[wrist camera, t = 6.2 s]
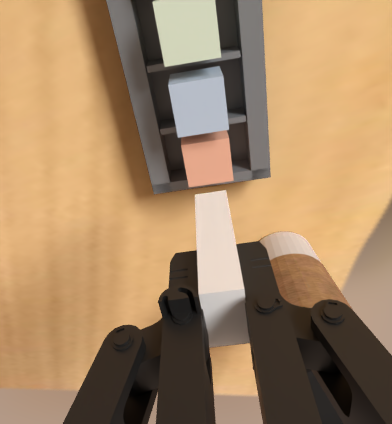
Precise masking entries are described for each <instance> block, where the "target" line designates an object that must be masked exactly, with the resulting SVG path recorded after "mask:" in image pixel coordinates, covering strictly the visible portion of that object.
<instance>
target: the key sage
mask: <svg viewBox="0 0 392 424" xmlns="http://www.w3.org/2000/svg"><path fill="white" fill-rule="evenodd" d="M152 3H153V8H154V13H155V19H156V24H157V29H158V34H159V40H160V45H161V50H162V56H163V61H164V66H165V67H168V66H173V65H179V64H185V63H191V62H197V61H203V60H209V59H215V58H221V50H220V41H219V32H218V22H217V13H216V4H215V0H155V1H153V2H152Z"/></svg>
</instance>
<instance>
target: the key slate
mask: <svg viewBox="0 0 392 424" xmlns="http://www.w3.org/2000/svg"><path fill="white" fill-rule="evenodd" d="M168 87H169V93H170V98H171V103H172V109H173V114H174V119H175V124H176V130H177V135H178V138H179V137H186V136H192V135H199V134H205V133H211V132H218V131H224V130H229V124H228V114H227V105H226V96H225V87H224V78H223V74H222V71H221V69H220V66H216V67H210V68H204V69H198V70H192V71H186V72H180V73H174V74H170V78H169V83H168Z"/></svg>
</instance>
